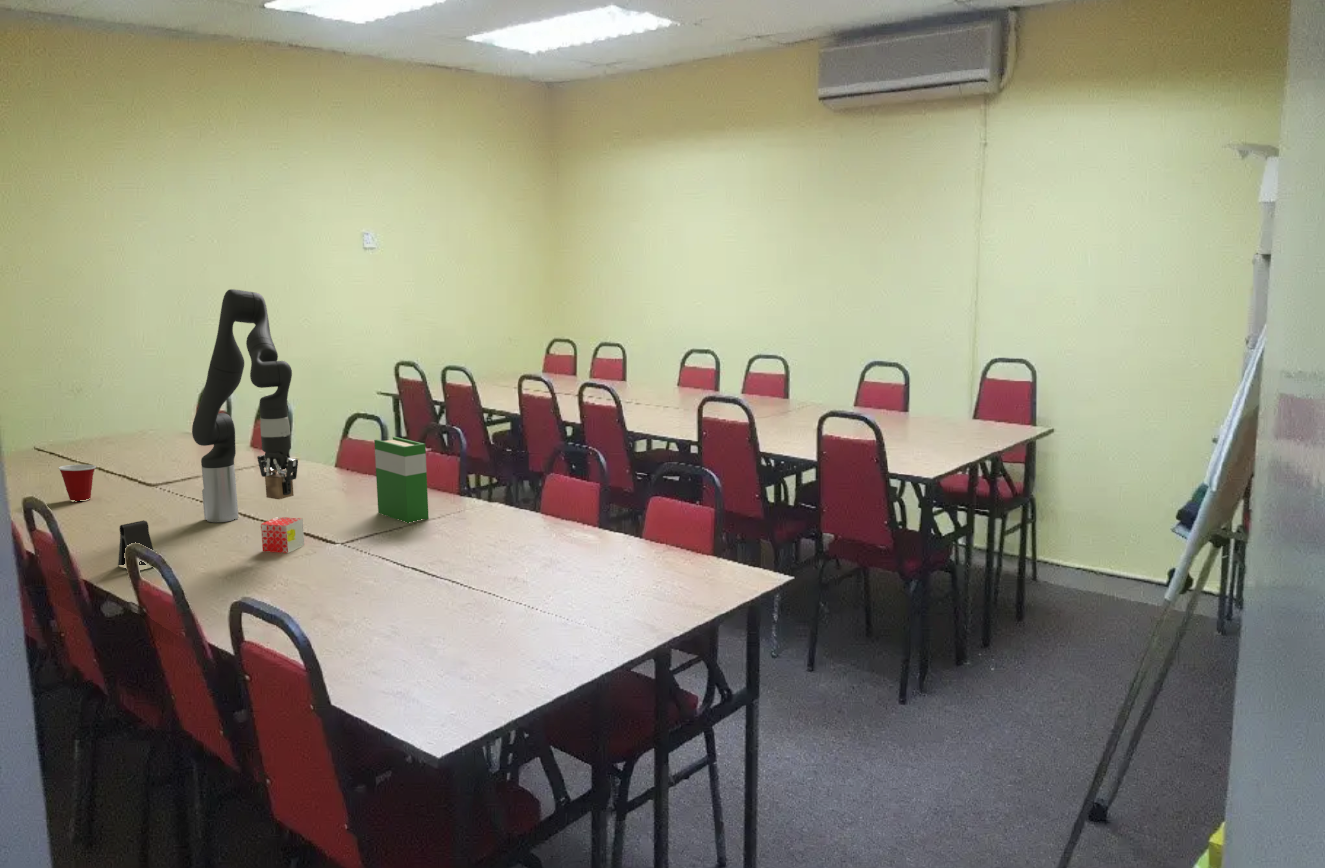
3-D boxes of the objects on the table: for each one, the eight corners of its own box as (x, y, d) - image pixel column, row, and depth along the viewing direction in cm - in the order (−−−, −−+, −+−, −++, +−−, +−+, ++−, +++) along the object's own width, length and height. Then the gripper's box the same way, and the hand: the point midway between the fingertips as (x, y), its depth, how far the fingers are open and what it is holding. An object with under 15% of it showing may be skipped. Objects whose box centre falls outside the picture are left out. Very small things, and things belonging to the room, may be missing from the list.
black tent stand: (157, 567, 248) (153, 523, 246) (133, 573, 243) (129, 528, 241) (141, 560, 254) (137, 517, 251) (118, 566, 249) (113, 522, 247)
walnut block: (266, 497, 262) (264, 476, 261) (281, 493, 266) (279, 473, 265) (278, 499, 259) (277, 478, 258) (293, 495, 264) (292, 474, 263)
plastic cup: (106, 499, 320) (102, 464, 318) (72, 505, 311) (68, 470, 309) (89, 495, 326) (85, 461, 324) (56, 501, 317) (52, 466, 315)
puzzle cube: (288, 553, 261) (286, 525, 259) (262, 551, 262) (260, 524, 261) (304, 545, 268) (302, 518, 267) (279, 543, 270) (277, 516, 268)
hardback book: (378, 513, 303) (374, 439, 298) (398, 508, 308) (395, 436, 304) (407, 523, 291) (404, 447, 286) (428, 518, 296) (425, 443, 292)
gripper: (246, 433, 260) (251, 493, 263) (282, 437, 253) (286, 499, 256) (269, 429, 266) (273, 487, 269) (304, 433, 259) (308, 493, 262)
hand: (280, 493), depth 262 cm, fingers closed on walnut block, 5 cm apart
